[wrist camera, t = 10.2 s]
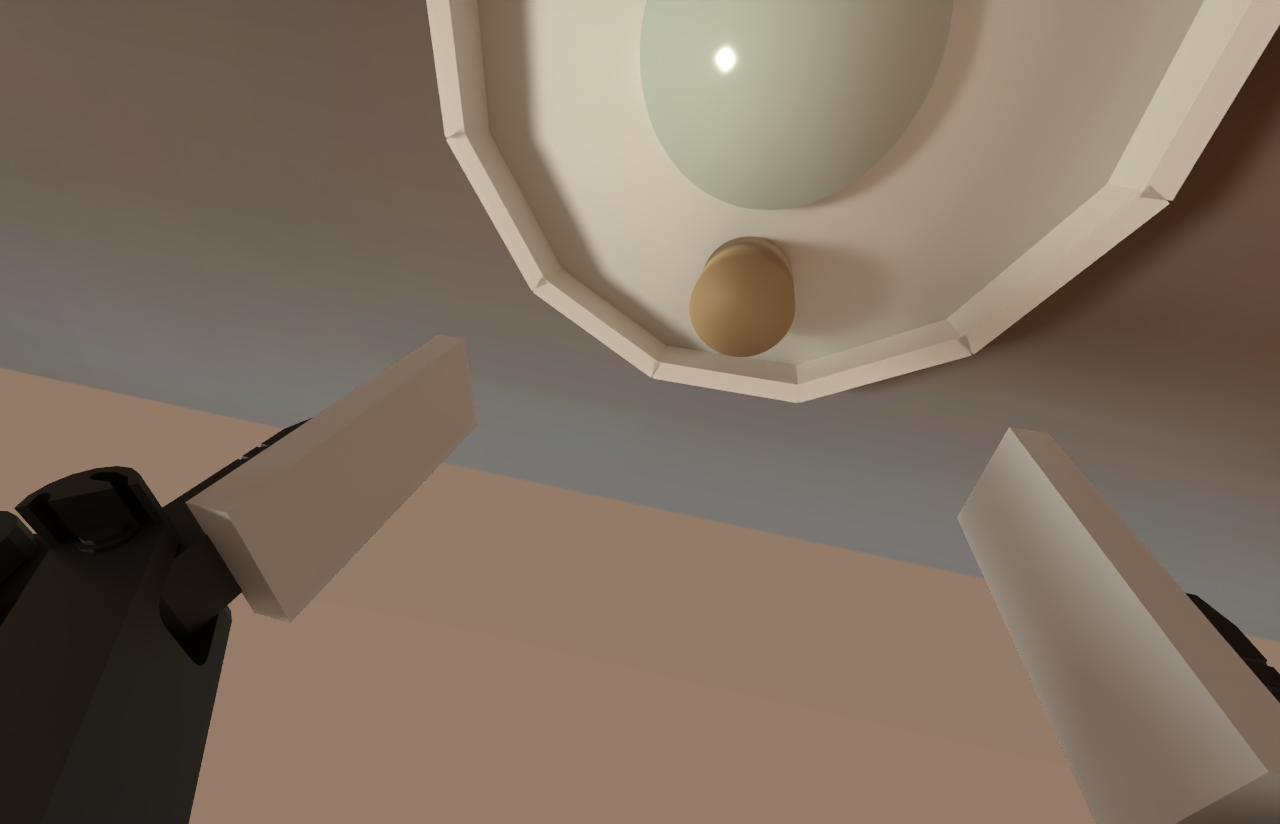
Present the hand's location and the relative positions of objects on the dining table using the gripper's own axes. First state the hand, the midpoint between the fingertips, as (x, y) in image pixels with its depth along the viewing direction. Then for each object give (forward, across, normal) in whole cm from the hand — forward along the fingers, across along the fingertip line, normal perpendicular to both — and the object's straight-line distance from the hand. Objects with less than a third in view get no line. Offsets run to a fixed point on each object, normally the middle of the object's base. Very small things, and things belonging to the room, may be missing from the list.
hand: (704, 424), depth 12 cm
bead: (+14, 0, 0) cm, 14 cm away
